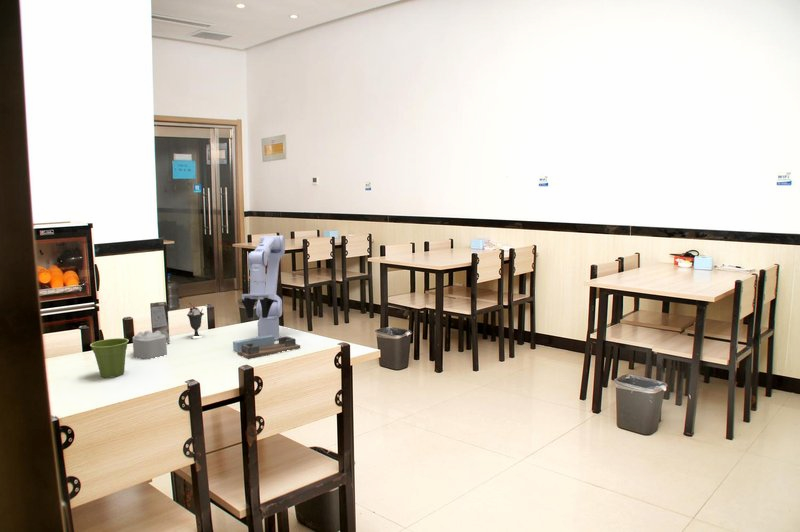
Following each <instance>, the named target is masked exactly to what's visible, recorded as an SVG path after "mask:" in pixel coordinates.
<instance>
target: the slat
mask: <svg viewBox="0 0 800 532" xmlns="http://www.w3.org/2000/svg"><path fill="white" fill-rule="evenodd" d="M249 343H253V346H259V347H261V346H267V345H272V344H275V340H274V336H272V335H267V336H262V337H257V336H255V337H251V338H245V339H240V340H235V341H232V349H233V350H232V351H233V352H234V351H235V353H237V351H241V350H242V345H243V344H249Z"/></svg>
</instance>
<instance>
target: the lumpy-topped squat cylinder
mask: <svg viewBox="0 0 800 532" xmlns="http://www.w3.org/2000/svg"><path fill="white" fill-rule="evenodd" d="M167 345H168V344H166V336H165V335H163V334H161V332H160V331H155V332H154V333H152V331H150V330H146V331H144V332H142V331H140V332H138V333H137V334H135V335H134V336H132V348H133V350H132V351H133V352H132V353H133V357H134V358H136V357H137V358H136V359H139V358H140V359H139V360H151V358H153V359H156V358H155V357H157V358H161V357H160V356H162V357H165V356H164V355H166V356H167V355H168V349H167Z"/></svg>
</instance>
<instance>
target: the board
mask: <svg viewBox="0 0 800 532" xmlns="http://www.w3.org/2000/svg"><path fill="white" fill-rule="evenodd" d="M297 348H300V349H301V345H300V344H298V343H297V340H296V338H294V337H290V336H287V335H286V336H281V338H278V343H274V344H272V345H267V346H261V347H259V346H253V343H249V344H243V345H242V350H241V351H237V352H236V354H237V355H238V356H239V357H240V356H241V357H242V356H243V357H242V358H245V359H246V360H247V359H248V360H251V359H255V358H261V357H266V356H270V354H271V355H275V354H274V353H276V354H279V353H278V352H280V353H283V352H282V351H285V352H288V351H287V350H290V351H293V350H292V349H295V350H298V349H297Z"/></svg>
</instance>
